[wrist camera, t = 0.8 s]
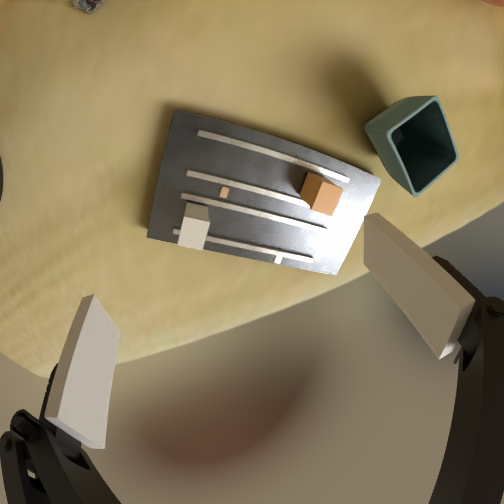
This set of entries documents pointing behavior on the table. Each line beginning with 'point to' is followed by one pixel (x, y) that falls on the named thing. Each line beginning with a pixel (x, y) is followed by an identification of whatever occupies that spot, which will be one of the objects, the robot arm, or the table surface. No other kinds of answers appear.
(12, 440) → the robot arm
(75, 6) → the mineral specimen
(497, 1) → the jug
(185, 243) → the fader ivory
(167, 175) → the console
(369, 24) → the table surface
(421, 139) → the flower pot
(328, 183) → the fader orange
